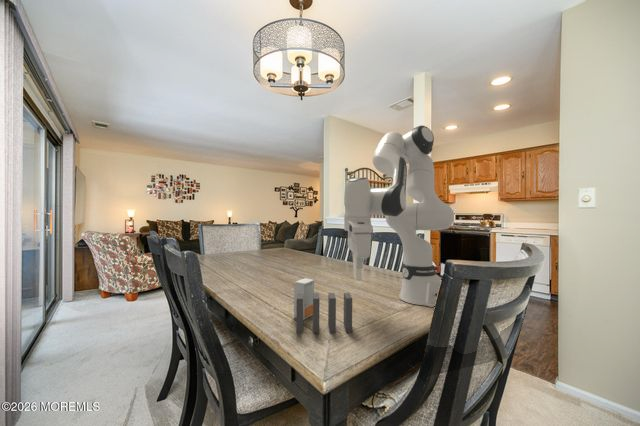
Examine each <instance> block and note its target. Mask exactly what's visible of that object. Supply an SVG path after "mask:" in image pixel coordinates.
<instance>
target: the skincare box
mask: <svg viewBox="0 0 640 426" xmlns="http://www.w3.org/2000/svg"><path fill="white" fill-rule="evenodd" d="M293 285H294V289H293V294H294V295H293V318H295V319H296V314H297V293H303V321H305V320H306V319H308V318H309V317H311V316H312V317H313V293H315V279H311V278H307V277H306V278H301V279H298V280H296V281H294V284H293Z"/></svg>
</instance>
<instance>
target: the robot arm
mask: <svg viewBox="0 0 640 426" xmlns="http://www.w3.org/2000/svg"><path fill="white" fill-rule="evenodd" d="M434 137H435V135H434V134H433V131H432V130H431V129H430V128H429V127H428V126H425V125H418V126H416V127H413V128H412V129H411V130H409V131H408V132H406V133H405V134H403V135H402V134H401V133H399V132H398V131H388V132H387V133H385V134H384V135H383V136H382V138H381V139H380V141H379V142H378V144H377V145H376V147H375V150H374V152H373V154H372V164H373V166H374V167H375V170H377V171H379V172H380V173H381V174H384V175H389V176H392V177H393V178H392V184H390V186H386V187H377V188H376V187H374V188H372V187H371V186H370V181H369V178H368V177H362V176H361V177H353V178H348V179H347V180H346V182H345V185H344V193H343V196H344V197H343V202H344V204H343V205H344V207H345V209H344V211H345V212H344V215H343V217H344V218H343V220H344V222H343V225H344V226H343V228H344V231H345V232H346V231H347V248H348V249H349V250H350V251H351V255H352V258H353V253H354V254H355V255H356V256H357V263H356V267H357V268H358V269H362V270H363V266H364V265H363V264H364V260H365V259H369V258H370V255H371V247H372V245H371V244H372V233H374V227H373V225H372V222H371V221H372V220H371V219H372V218H371V217H372V216H384V217H385V221H386V223H387V225H388V226H389V227H390V228H391V229H392V230H394V232H395V233H396V234H397V235H398V237H399V239H400V242H401V244H402V253H403V254H402V256H403V258H402V259H403V262H402V266H401V270H402V271H401V273H402V281H401V283H402V284H401V288H400V291H399V296H398V298H399V299H400V300H401V301H403V302H406V303H409V304H413V305H418V306H419V305H420V306H424V307H425V306H427V307H430V308H435V307H434V306H435V302H436V298H437V294H438V290H439V287H440V283H441V281H440V280H441V279H442V278H441V277H440V276H439V275H437V272H441V271H442V267H441V266H438V265H433V263H434V262H433V261H434V260H433V257H434V256H433V253H434V251H433V245H432V243H430V242H429V241H427V240H426V239H425V238H422V237H420V236H419V235H418V234H417V231H433V232H434V231H441V230H448V229H450V227H451V226H452V225H453V223H454V221H455V213H454V210H453V209H452V207H451V206H450V205H449V204H448V203H445V202H444V201H442V200H441V199H440V198H439V197H438V195H437V194H436V191H435V189H436V188H435V167H434V162H433V158H432V157H431V156H429V154H431V153H432V151H433V146H434V141H435V138H434ZM407 163H408V166H407ZM406 193H407V194H406ZM407 195H408V196H409V197H410V198H411V199H412V200H414V201H417V202H407V197H406V196H407ZM371 215H372V216H371Z"/></svg>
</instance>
